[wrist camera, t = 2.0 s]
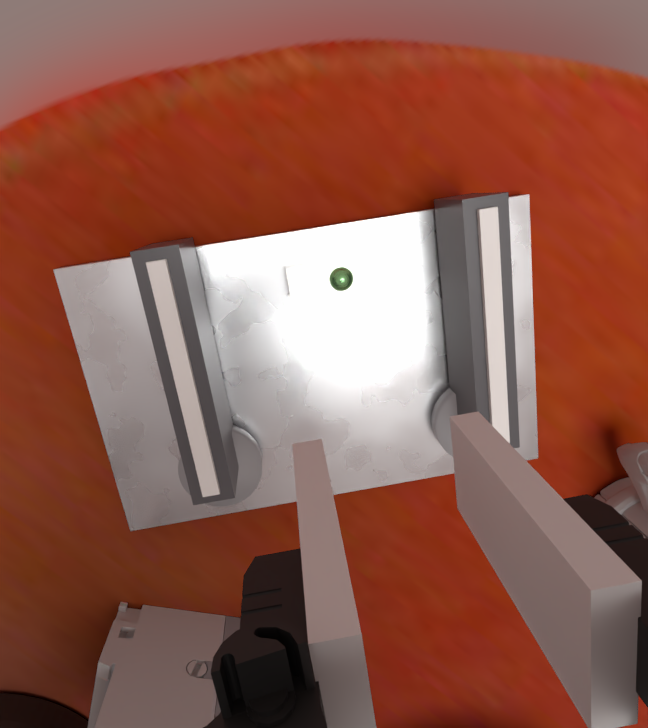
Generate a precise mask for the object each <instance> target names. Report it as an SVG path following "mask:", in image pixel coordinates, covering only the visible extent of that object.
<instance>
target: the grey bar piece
mask: <svg viewBox="0 0 648 728" xmlns="http://www.w3.org/2000/svg"><path fill="white" fill-rule="evenodd" d="M130 255H131V259H132V263H133V267H134V271H135V275H136V279H137V283H138V287H139V291H140V295H141V299H142V303H143V307H144V311H145V315H146V319H147V323H148V327H149V331H150V335H151V339H152V343H153V347H154V351H155V355H156V359H157V363H158V367H159V371H160V375H161V379H162V383H163V387H164V391H165V395H166V399H167V403H168V407H169V411H170V415H171V419H172V423H173V427H174V431H175V435H176V439H177V443H178V447H179V451H180V455H181V456H180V459H179V463H178V475H179V479H180V482H181V484H182V486H183V488H184V489H185V490H186V492H187V493H188V494H189V495H190V496H191V499H192V503H193V505H199V504H206V505H210V506H217V507H224V506H230V505H234V504H237V503H239V502H241V501H243V500H245V499H246V498H248V497H249V496H250V495H251V494H252V493H253V492H254V491H255V489H256V488H257V486H258V484H259V482H260V479H261V474H262V453H261V450H260V447H259V445H258V443H257V442H256V440H255V439H254V438H253V437H252V436H251V435H250V434H249V433H248V432H247V431H245V430H243V429H242V428H240V427H237V426H234V425H233V422H232V418H231V413H230V408H229V404H228V399H227V394H226V390H225V385H224V381H223V376H222V371H221V367H220V362H219V357H218V353H217V348H216V343H215V339H214V334H213V329H212V325H211V320H210V315H209V311H208V306H207V301H206V297H205V292H204V287H203V283H202V278H201V274H200V269H199V264H198V260H197V255H196V250H195V246H194V241H193V237H191V238H185V239H179V240H172V241H166V242H159V243H153V244H150V245H147V246H144V247H142V248H139V249H136V250H134V251H131V252H130Z"/></svg>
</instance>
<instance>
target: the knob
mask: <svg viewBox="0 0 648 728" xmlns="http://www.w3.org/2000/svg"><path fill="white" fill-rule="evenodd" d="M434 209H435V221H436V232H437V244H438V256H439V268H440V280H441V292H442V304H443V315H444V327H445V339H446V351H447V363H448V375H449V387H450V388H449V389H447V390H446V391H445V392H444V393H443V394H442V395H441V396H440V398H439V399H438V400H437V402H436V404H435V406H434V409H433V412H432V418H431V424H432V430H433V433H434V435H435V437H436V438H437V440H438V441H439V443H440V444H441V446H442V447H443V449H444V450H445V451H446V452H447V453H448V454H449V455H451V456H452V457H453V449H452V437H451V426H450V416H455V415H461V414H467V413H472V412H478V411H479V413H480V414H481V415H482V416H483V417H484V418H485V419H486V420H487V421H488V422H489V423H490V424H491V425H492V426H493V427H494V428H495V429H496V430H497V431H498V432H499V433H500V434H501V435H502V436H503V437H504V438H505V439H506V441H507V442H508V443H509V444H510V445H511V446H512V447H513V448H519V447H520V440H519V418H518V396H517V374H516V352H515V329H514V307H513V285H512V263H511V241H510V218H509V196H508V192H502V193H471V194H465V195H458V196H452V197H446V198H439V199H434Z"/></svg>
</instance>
